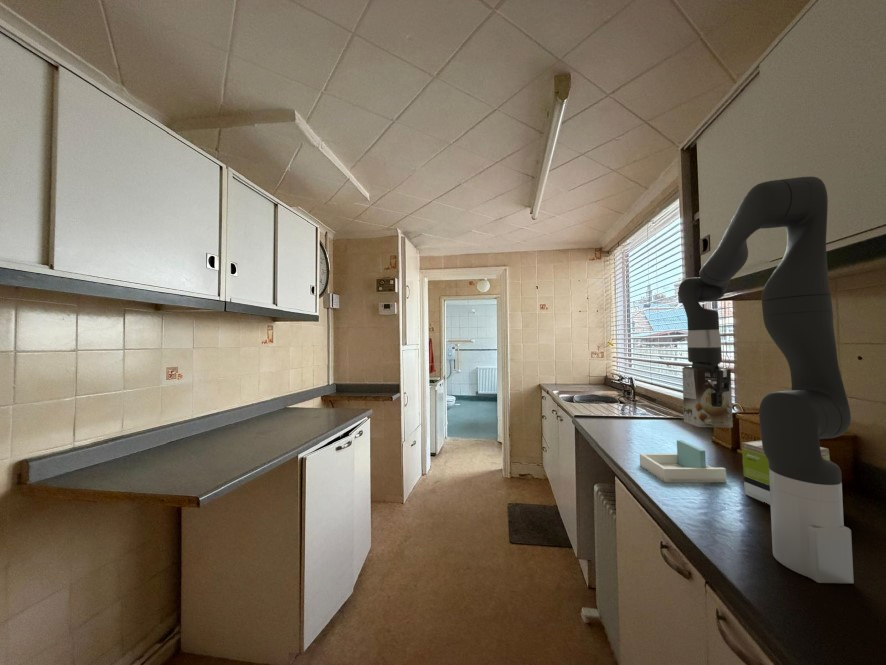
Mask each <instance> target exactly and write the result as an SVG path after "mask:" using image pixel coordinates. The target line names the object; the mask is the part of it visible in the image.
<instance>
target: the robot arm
mask: <svg viewBox="0 0 886 665" xmlns="http://www.w3.org/2000/svg"><path fill="white" fill-rule="evenodd" d="M828 198H829V197H828V191H827V187H826V185H825V183H824V181H823V180H822V179H821V178H819V177H816V176H800V177H799V176H798V177H792V178H784V179H774V180H769V181H763V182H761V183H758V184H756V185H754V186H753V187H752V188H750V190H749V191H748V192H747V193H746V194H745V196H744V197H743V198H742V200H741V202H740V204H739V205H738V207H737V209H736V211H735V213H734V215H733V217H732V218H731V221H730V222H729V225H728V227H727V228H726V230H725V232H724V234H723V236H722V238H721V241H720V242H719V244H718V245H717V247H716V249H715V250H714V252H712V254H711V255H710V256H709V257H708V259H707V260H706V262H705V263H704V264H702V267H701V268H700V270H699V276H698V277H696V276H694V277H687V278H685V279H683V280H682V281H681V282H680V283H679V285H678V296H679V298H680V301H681V303H682V306H683V308H684V312H685V314H686V318H687V320H686V321H687V336H686V338H687V340H686V344H687V360H688V361H687V362H689V363H691V364H692V365H688V366H684V367H683V368H702V369H709V371H710V376H711V377H713V375H714V373H716V376H717V379H716V381H710V380H708V384H709V385H710V390H711V392H712V393H711V400H712V406H714V407H721V406H722V404H723V402H722V393H723V392H728V391H729V382H730V371H729V370H721V369H720V368H721V367H720V366H719V364H720V363H722V362H723V357H722V356H723V355H722V352H723V351H722V338H721V333H720V321H719V320H720V319H719V313H718V311H717V310H715V309H712V308H711V309H710V308H705V307H703V306H702V305H701V304H700V302H715V301H717V300H720V299H721V298H723V297H724V295H725V294H726V292H727V289H728V286H729V284H730V281H731V280H732V279H733V277H735V275H736V274H737V273H738V272H739V271H741V269H742V268H743V267H744V265H745V264H746V263H747V261H748V257H749V247H748V243H747V240H748V239H749V237H751V235H753V234H754V233H755V232H757V231H758V230H760V229H761V230H762V229H773V228H783V227H784V228H785V229H786V230H785V231H786V248H785V251H784V255H783V257H782V259H781V260H780V261H779V264H778V265H777V266H776V268H775V269H774V271H773V272H772V274H771V275H770V276H769V278H768V280H767V281H766V283H765V284H764V287H763V288H762V291H761V297H760V298H761V308H762V319H763V324H764V328H765V329H766V331H767V333H768V335H769V337H770V338H771V339H772V341H773V342H774V343H775V344H776V346H777V348H778V349H779V350H780V351H781V353H782V354H783V357H784V358H785V359H786V361H787V363H788V364H787V365H788V367H789V372H790V382H791V390H779V391H773V392H770V393H767V394H766V395H765V396H764V397H763V398H762V399H761V401H760V404H759V409H758V411H759V412H758V417H759V418H758V419H759V428H760V437H761V439H760V440H762V447H763V451H764V453H765V455H766V457H767V459H768V462H769V477H770V502H771V505H770V519H771V520H770V523H771V542H772V556H773V557H774V558H775V560H776V561H777V562H779V563H780V564H781V565H783V566H784V567H786V568H788V569H789V570H791V571H793V572H795V573H797V574H799V575H802V576H805V577H806V578H807V577H808V578H809V579H811V580H813V581H815V582H816V583H818V584H854V583H855V582H854V566H853V565H854V563H853V546H852V545H853V544H852V543H853V542H852V541H853V540H852V529H850V528H849V527H847V526H845V524H844V506H843V505H844V504H843V501H844V500H843V483H842V482H843V481H842V479H843V478H842V470H841V468H840V466H839V465H838V464H837V463H835V462H833V461H831V460H830V461H829V460H826V459H823V457H822V456H821V450H820V447H821V445H820V444H821V443H820V440H824V439H825V440H828V439H834V438H835V439H836V438H837V437H840V436H842V435H843V434H845V433H846V432H847V431H848V430H849V429H850V426H851V421H852V420H851V416H852V415H851V410H850V404H849V400H848V397H847V394H846V393H847V392H846V389H845V386H844V382H843V378H842V375H841V370H840V365H839V360H838V349H837V343H836V336H835V327H834V326H835V325H834V310H833V302H832V292H831V286H830V280H829V271H828V270H829V269H828V257H827V255H828V254H827V232H828V231H827V229H828V228H827V227H828V208H829V206H828V205H829V204H828V203H829V202H828V201H829V200H828ZM722 383H724V387H722ZM714 385H716V388H715V387H714Z"/></svg>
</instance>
